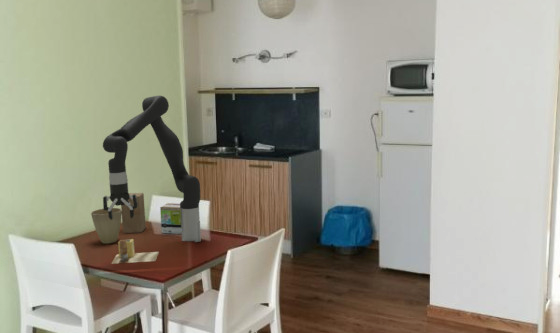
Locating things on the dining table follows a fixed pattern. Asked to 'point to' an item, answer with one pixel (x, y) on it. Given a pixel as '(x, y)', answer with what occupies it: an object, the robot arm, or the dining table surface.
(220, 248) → the dining table surface
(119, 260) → the panel
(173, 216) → the tea box
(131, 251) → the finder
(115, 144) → the robot arm
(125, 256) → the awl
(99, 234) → the plant pot
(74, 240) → the dining table surface
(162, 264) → the dining table surface
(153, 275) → the dining table surface
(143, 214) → the wooden block
